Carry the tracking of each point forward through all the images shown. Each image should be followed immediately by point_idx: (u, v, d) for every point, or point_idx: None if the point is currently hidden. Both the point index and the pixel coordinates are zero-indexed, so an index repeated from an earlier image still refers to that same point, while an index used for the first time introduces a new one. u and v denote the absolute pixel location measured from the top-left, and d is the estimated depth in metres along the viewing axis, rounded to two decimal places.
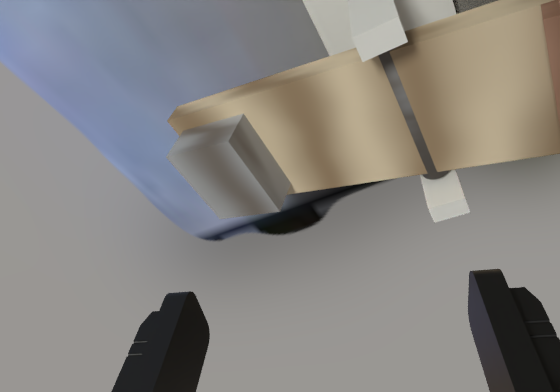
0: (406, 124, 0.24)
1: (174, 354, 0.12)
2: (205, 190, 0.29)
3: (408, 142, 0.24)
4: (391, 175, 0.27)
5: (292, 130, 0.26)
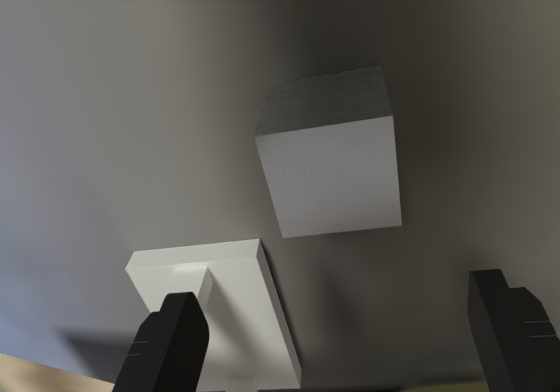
0: None
1: (175, 354, 0.12)
2: None
3: None
4: None
5: None
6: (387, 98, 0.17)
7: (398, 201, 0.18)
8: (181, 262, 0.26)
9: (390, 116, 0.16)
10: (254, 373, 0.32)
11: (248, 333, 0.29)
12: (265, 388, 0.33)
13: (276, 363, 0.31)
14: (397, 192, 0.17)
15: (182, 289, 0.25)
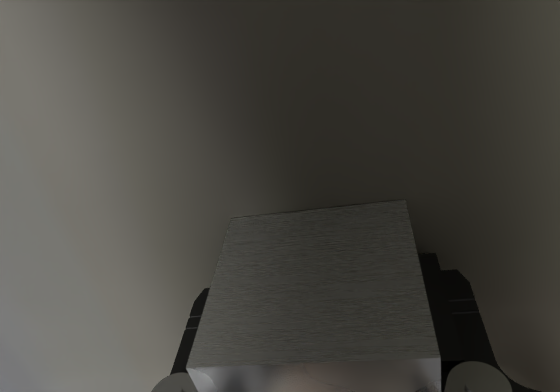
0: None
1: None
2: None
3: None
4: None
5: None
6: (425, 298, 0.09)
7: None
8: None
9: (436, 358, 0.08)
10: None
11: None
12: None
13: None
14: None
15: None
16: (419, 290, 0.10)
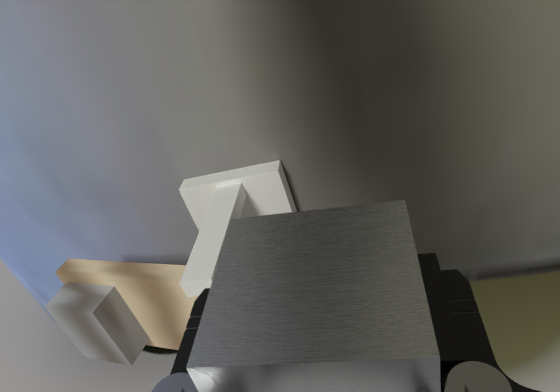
0: None
1: None
2: (74, 335, 0.34)
3: None
4: None
5: (150, 306, 0.33)
6: (424, 297, 0.09)
7: None
8: (221, 181, 0.34)
9: (435, 358, 0.08)
10: None
11: None
12: None
13: None
14: None
15: (223, 197, 0.33)
16: (418, 290, 0.10)
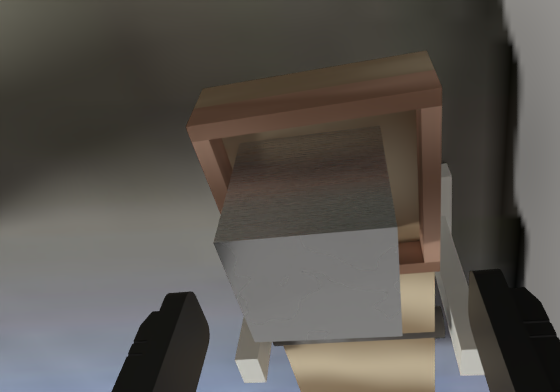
0: (361, 341, 0.24)
1: (174, 354, 0.12)
2: None
3: (385, 343, 0.24)
4: (429, 359, 0.25)
5: None
6: (389, 191, 0.13)
7: (399, 313, 0.14)
8: None
9: (394, 227, 0.12)
10: None
11: None
12: (449, 210, 0.28)
13: None
14: (398, 305, 0.14)
15: None
16: (385, 186, 0.13)
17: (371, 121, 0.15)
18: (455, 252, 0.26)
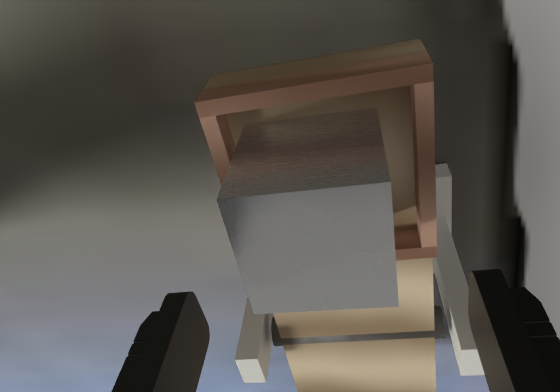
0: (361, 341, 0.24)
1: (174, 354, 0.12)
2: None
3: (385, 343, 0.24)
4: (430, 362, 0.24)
5: None
6: (384, 155, 0.13)
7: (395, 279, 0.14)
8: None
9: (387, 182, 0.12)
10: None
11: None
12: (449, 210, 0.28)
13: None
14: (394, 269, 0.14)
15: None
16: (380, 152, 0.14)
17: (368, 103, 0.16)
18: (455, 252, 0.26)
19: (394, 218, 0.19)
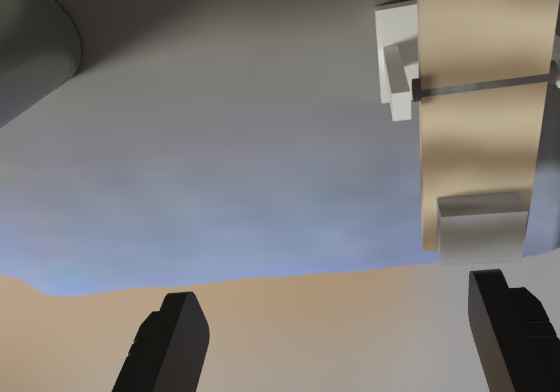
0: (487, 89, 0.30)
1: (174, 354, 0.12)
2: (483, 256, 0.35)
3: (506, 91, 0.30)
4: (539, 110, 0.31)
5: (463, 171, 0.34)
6: None
7: None
8: None
9: None
10: None
11: None
12: None
13: None
14: None
15: None
16: None
17: None
18: (557, 36, 0.32)
19: None
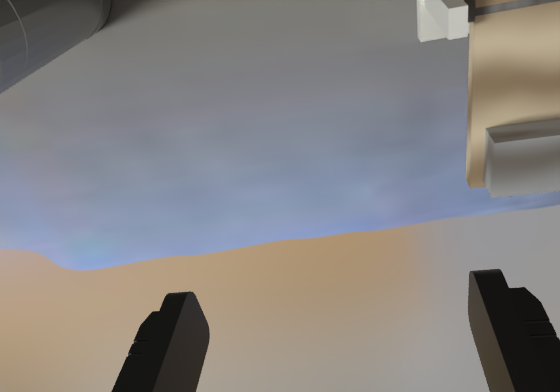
0: (543, 4, 0.30)
1: (175, 354, 0.12)
2: (535, 184, 0.35)
3: None
4: None
5: (514, 96, 0.34)
6: None
7: None
8: (419, 0, 0.38)
9: None
10: None
11: None
12: None
13: None
14: None
15: None
16: None
17: None
18: None
19: None
